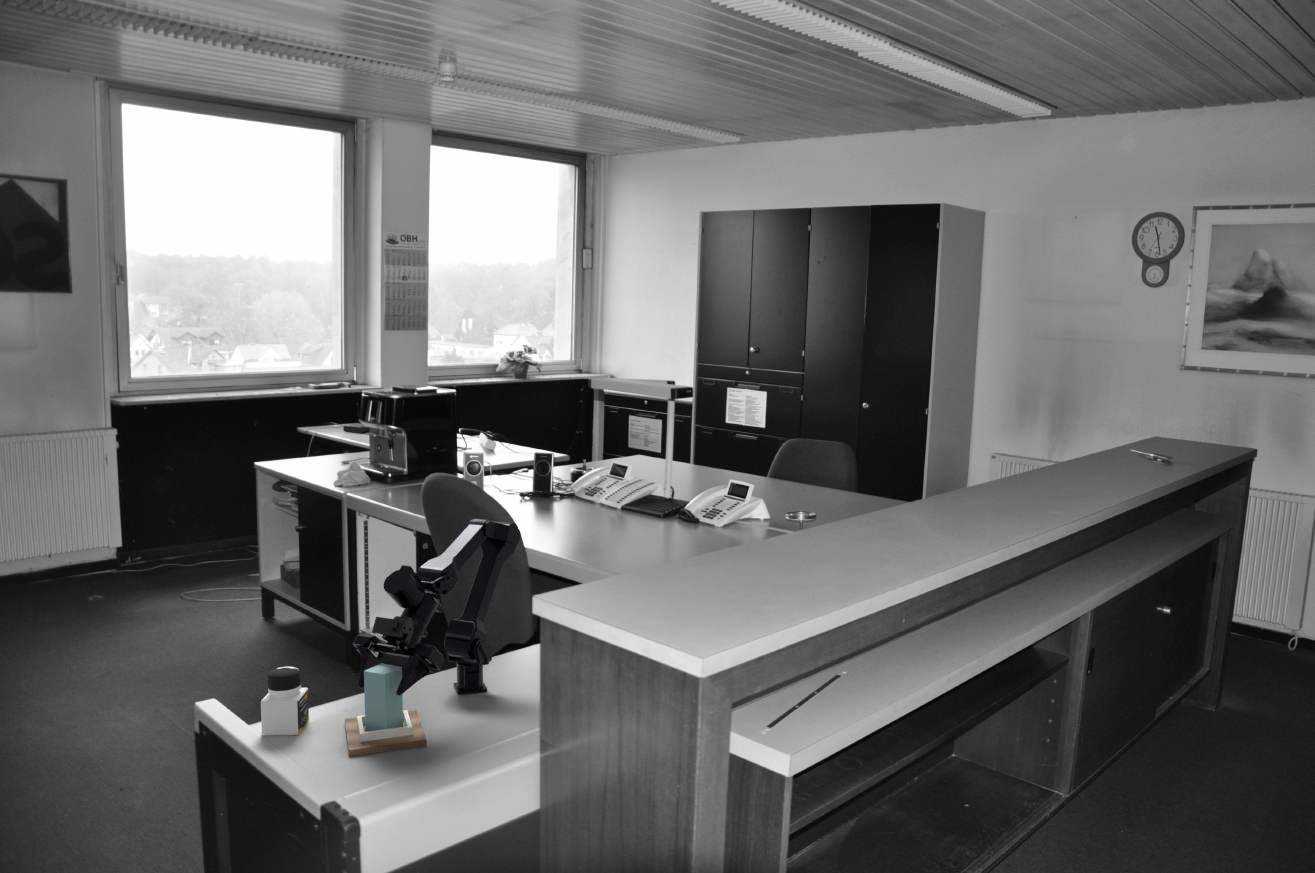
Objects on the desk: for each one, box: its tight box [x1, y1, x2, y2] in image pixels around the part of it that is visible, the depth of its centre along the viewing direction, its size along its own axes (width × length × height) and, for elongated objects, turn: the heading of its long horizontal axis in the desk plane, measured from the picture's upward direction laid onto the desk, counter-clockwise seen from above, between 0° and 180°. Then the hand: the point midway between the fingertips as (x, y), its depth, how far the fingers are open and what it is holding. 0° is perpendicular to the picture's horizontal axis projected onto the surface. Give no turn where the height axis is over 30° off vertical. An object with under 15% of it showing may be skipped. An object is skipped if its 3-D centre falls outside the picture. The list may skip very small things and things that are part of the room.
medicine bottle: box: [260, 666, 310, 737], centre depth 188 cm, size 7×7×12 cm
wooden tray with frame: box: [344, 709, 428, 757], centre depth 185 cm, size 16×14×3 cm
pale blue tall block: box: [363, 662, 404, 732], centre depth 185 cm, size 5×5×12 cm
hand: (378, 690), depth 183 cm, fingers open, 9 cm apart
